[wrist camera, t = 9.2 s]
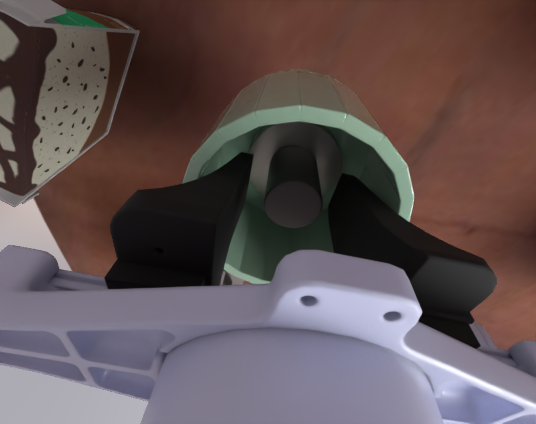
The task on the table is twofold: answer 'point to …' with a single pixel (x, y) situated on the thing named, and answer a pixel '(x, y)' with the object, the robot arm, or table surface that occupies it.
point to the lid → (294, 170)
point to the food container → (55, 88)
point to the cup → (312, 111)
